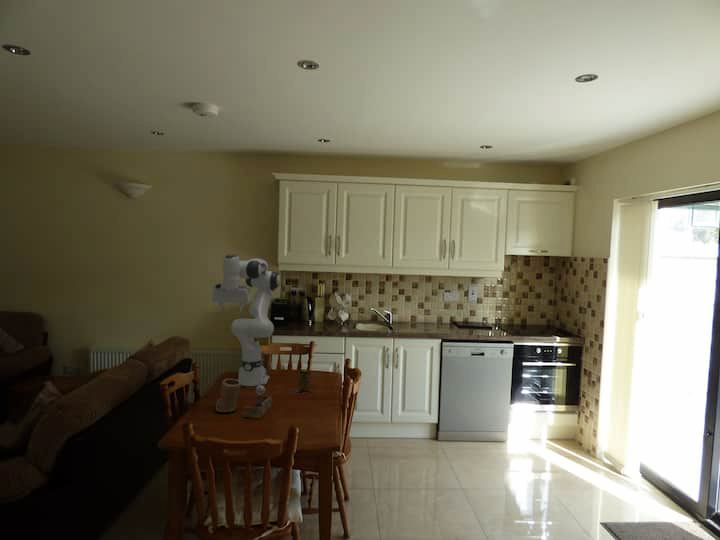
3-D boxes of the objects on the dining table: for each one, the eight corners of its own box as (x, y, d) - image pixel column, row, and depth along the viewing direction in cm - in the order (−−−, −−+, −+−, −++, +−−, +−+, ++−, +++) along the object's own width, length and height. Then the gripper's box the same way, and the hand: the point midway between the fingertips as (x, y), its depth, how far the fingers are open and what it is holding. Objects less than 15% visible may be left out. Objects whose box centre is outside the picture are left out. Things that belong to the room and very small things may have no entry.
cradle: (257, 404, 234) (258, 375, 234) (274, 405, 233) (275, 376, 232) (243, 417, 215) (244, 386, 215) (262, 418, 214) (262, 387, 214)
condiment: (305, 388, 264) (306, 368, 263) (313, 392, 257) (313, 371, 257) (294, 390, 259) (295, 370, 259) (302, 394, 253) (303, 373, 252)
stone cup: (239, 413, 220) (240, 383, 220) (214, 414, 218) (214, 384, 217) (240, 403, 235) (241, 375, 235) (217, 404, 233) (217, 375, 232)
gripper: (252, 285, 239) (252, 311, 239) (216, 284, 242) (216, 309, 243) (247, 286, 233) (247, 312, 233) (210, 285, 236) (210, 311, 237)
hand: (231, 311), depth 238 cm, fingers open, 8 cm apart
